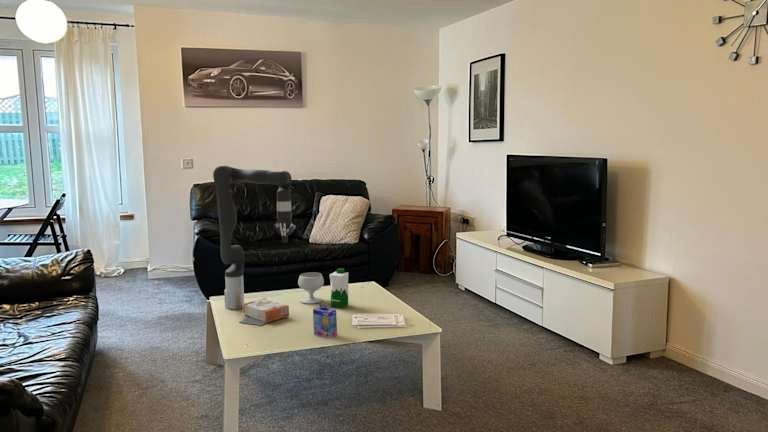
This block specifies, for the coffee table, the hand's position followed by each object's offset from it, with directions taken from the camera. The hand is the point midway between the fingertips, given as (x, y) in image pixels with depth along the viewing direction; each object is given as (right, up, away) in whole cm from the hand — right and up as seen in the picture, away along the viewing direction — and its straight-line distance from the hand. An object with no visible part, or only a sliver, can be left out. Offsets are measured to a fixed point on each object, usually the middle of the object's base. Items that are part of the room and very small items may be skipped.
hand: (285, 242), depth 300 cm
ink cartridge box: (+25, -41, -38) cm, 61 cm away
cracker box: (0, -34, -18) cm, 39 cm away
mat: (-9, -37, -15) cm, 41 cm away
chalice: (+12, -33, +16) cm, 39 cm away
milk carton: (+28, -35, +6) cm, 45 cm away
